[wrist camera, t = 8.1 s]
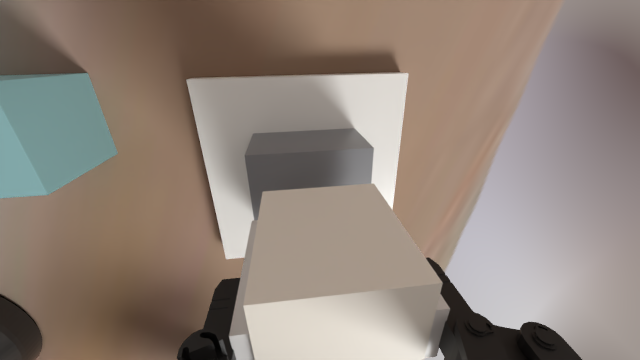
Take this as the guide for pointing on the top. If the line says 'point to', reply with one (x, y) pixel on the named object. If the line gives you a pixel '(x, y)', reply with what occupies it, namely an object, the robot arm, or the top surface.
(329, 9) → the top surface
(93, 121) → the teal block
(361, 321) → the cream block
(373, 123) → the tower base
